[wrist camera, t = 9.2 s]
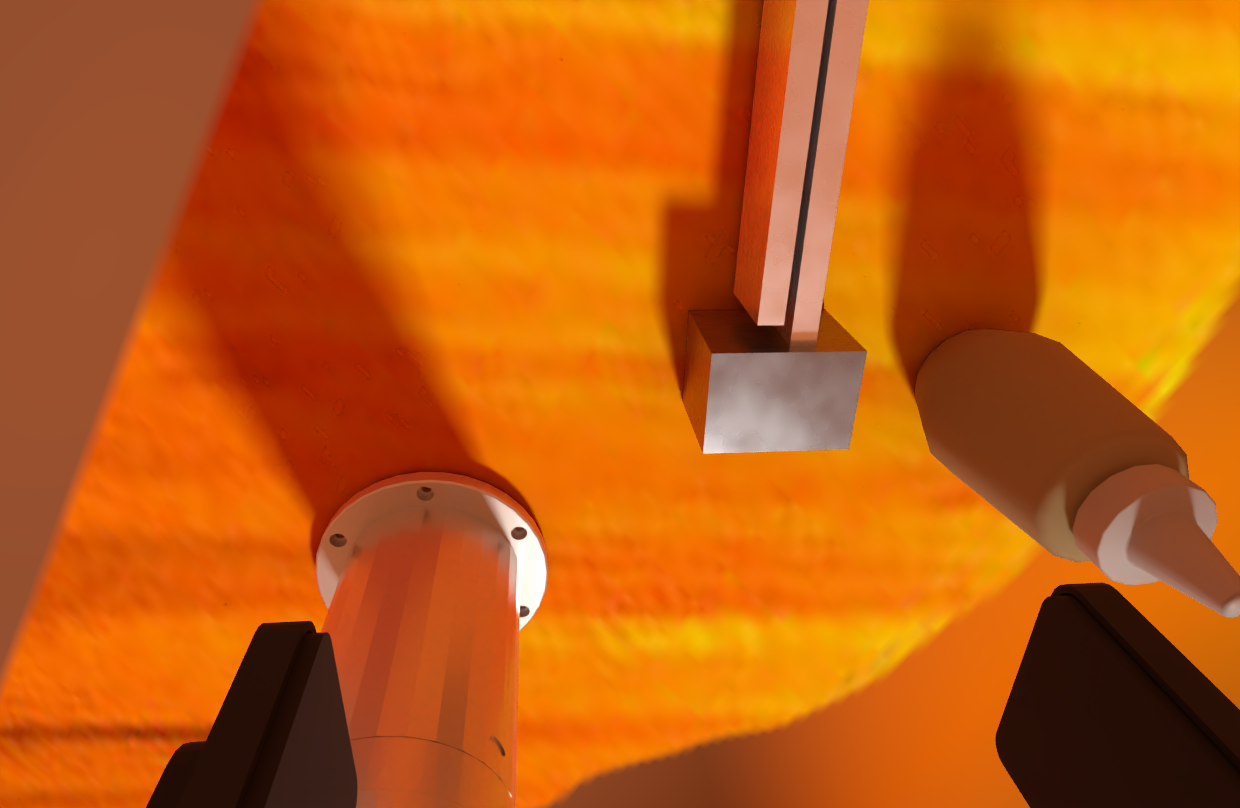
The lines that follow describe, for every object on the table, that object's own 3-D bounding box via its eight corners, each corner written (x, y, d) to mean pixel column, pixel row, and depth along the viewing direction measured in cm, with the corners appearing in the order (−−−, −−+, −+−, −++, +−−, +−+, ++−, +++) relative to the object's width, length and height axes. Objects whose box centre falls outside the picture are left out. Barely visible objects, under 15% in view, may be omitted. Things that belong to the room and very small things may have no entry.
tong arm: (756, 292, 38) (784, 325, 34) (729, 292, 37) (753, 325, 33) (813, -186, 29) (859, -219, 25) (777, -188, 29) (818, -222, 25)
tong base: (811, 397, 41) (848, 449, 36) (682, 400, 40) (703, 453, 35) (897, -163, 30) (969, -199, 25) (722, -173, 29) (761, -212, 24)
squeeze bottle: (862, 404, 41) (1069, 646, 25) (962, 279, 39) (1265, 462, 23) (967, 464, 44) (1216, 719, 28) (1068, 351, 41) (1407, 561, 25)
